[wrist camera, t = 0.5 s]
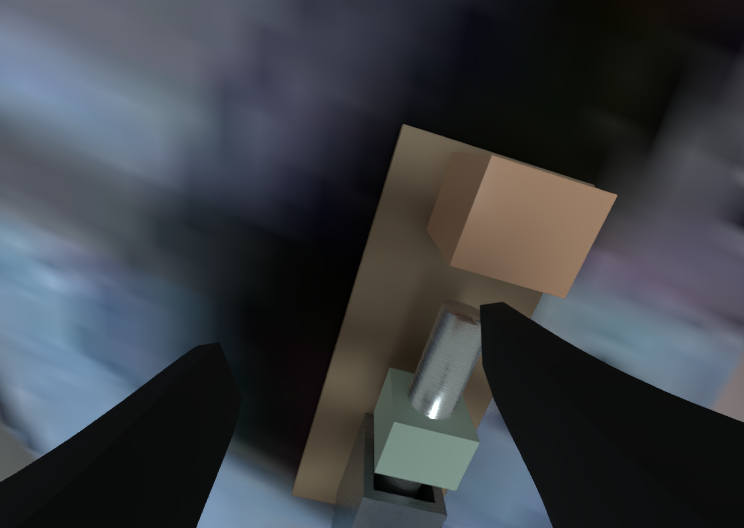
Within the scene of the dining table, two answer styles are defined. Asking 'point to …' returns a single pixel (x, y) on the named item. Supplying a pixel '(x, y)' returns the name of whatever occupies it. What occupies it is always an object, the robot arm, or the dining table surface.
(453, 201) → the tube stand
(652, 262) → the dining table surface
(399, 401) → the tube
